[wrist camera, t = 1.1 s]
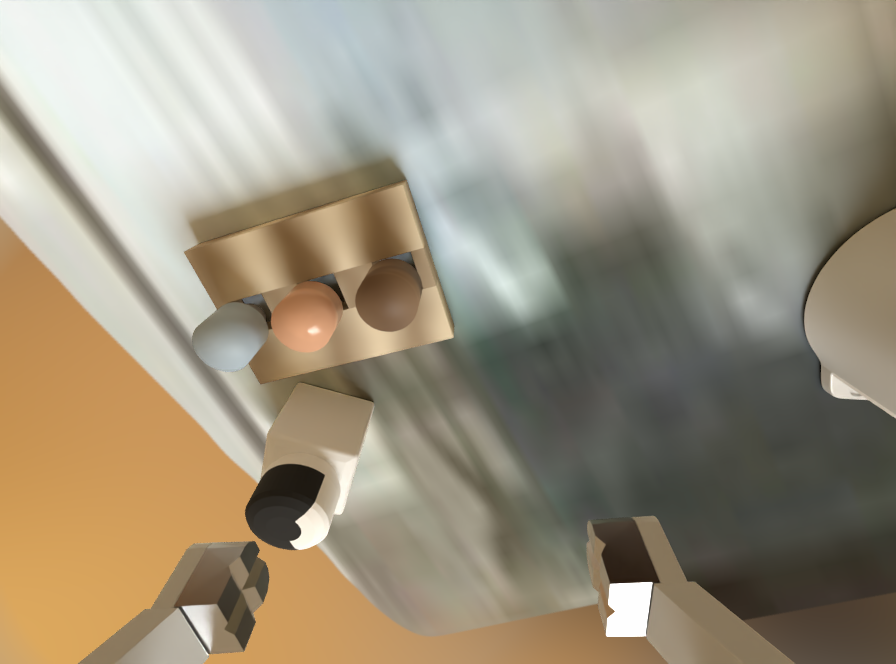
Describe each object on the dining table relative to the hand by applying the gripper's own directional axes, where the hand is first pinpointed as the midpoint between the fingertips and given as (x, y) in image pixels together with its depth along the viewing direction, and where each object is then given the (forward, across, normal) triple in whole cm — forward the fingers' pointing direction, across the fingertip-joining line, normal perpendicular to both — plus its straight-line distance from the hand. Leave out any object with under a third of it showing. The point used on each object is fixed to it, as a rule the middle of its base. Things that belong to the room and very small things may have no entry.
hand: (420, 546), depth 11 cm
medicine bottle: (+26, +13, +16) cm, 33 cm away
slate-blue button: (+24, +16, +4) cm, 29 cm away
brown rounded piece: (+24, +4, +2) cm, 24 cm away
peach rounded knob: (+24, +10, +3) cm, 26 cm away
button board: (+26, +10, +3) cm, 28 cm away
